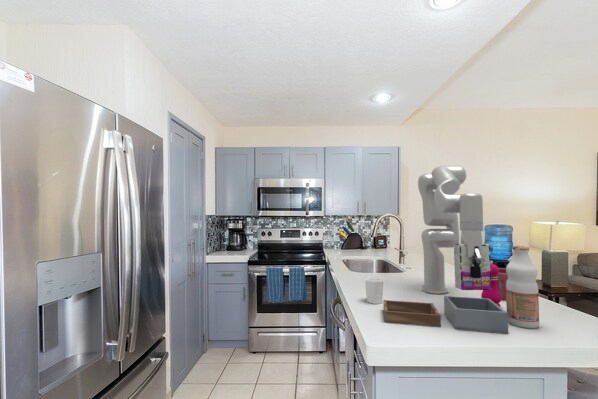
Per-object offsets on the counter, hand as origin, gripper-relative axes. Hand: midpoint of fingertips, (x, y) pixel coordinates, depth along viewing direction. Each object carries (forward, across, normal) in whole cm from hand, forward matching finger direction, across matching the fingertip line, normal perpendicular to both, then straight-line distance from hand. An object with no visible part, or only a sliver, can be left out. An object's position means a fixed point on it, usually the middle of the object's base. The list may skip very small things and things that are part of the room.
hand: (472, 275), depth 108 cm
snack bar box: (+5, 0, 0) cm, 5 cm away
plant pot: (+17, -37, +25) cm, 48 cm away
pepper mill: (+17, -20, +13) cm, 30 cm away
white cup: (+17, -17, -35) cm, 43 cm away
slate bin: (+17, 0, 0) cm, 17 cm away
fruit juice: (+18, -3, +17) cm, 25 cm away
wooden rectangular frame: (+17, 0, -22) cm, 28 cm away
